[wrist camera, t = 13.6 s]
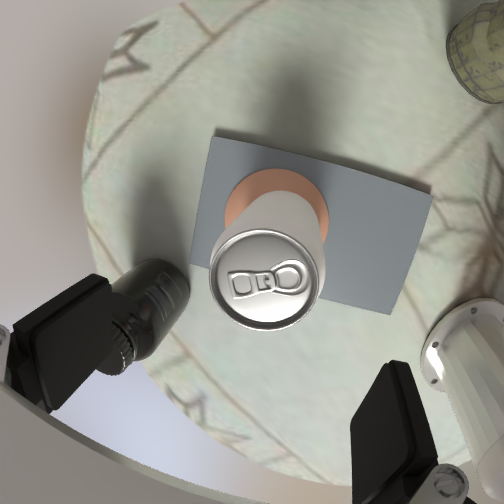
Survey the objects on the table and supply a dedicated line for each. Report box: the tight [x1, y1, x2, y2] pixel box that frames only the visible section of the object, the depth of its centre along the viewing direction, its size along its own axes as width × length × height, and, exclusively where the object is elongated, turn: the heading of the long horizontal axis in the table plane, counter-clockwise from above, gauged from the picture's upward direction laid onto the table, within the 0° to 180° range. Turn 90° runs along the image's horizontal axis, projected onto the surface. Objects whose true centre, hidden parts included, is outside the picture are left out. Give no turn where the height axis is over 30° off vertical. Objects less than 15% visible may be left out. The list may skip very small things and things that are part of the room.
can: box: [209, 190, 326, 331], centre depth 21 cm, size 6×6×12 cm
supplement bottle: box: [96, 259, 189, 376], centre depth 26 cm, size 7×7×12 cm
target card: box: [190, 136, 433, 315], centre depth 27 cm, size 20×12×1 cm, turn 78°
